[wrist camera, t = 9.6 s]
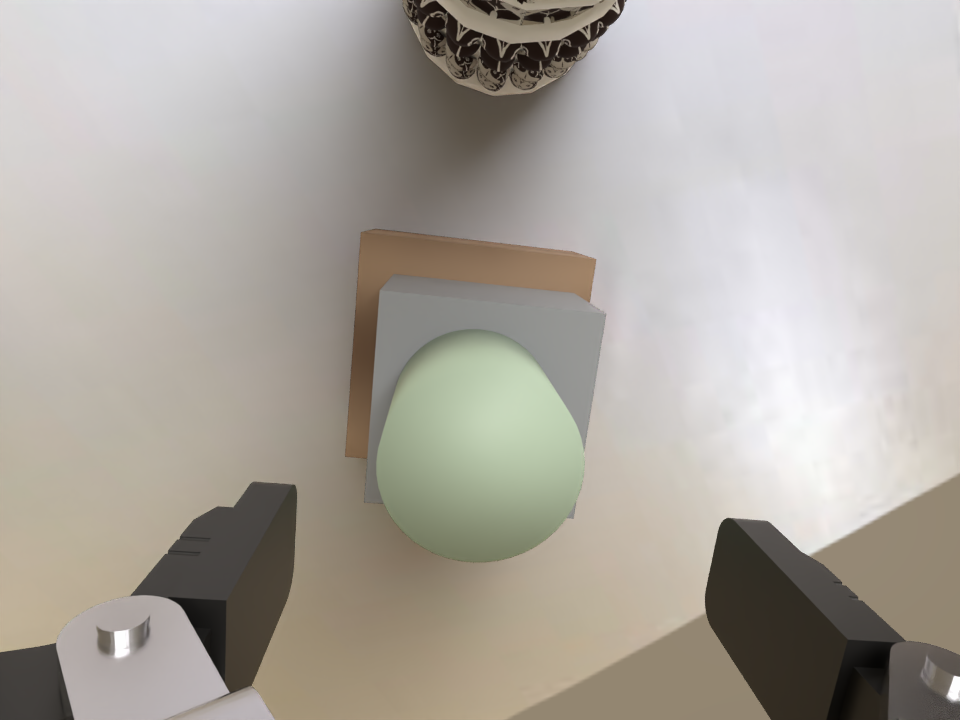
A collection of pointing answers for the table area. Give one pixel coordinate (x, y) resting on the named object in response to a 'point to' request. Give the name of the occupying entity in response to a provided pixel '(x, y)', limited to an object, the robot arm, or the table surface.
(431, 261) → the base block
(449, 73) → the decorative candle
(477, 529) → the rounded mint cylinder
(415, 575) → the table surface
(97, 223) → the table surface
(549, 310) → the gray block
